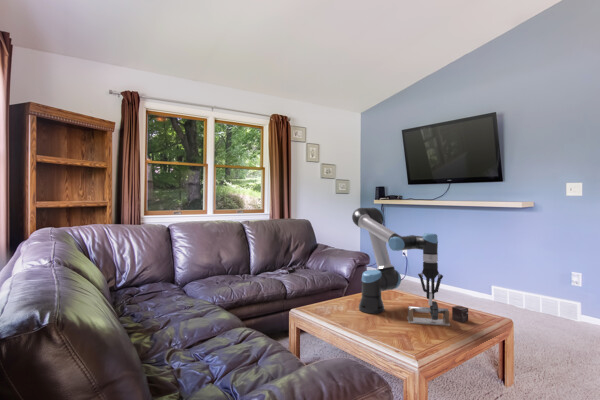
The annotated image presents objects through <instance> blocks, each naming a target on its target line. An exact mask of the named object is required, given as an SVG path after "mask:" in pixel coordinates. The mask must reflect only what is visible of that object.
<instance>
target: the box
mask: <svg viewBox="0 0 600 400" xmlns="http://www.w3.org/2000/svg"><path fill="white" fill-rule="evenodd" d="M451 309H452V310H451V319H452V320H453V321H455V322H458V323H460V324H463V323H464V324H465V323H467V322H469V307H465V306H462V305H455V306H452V307H451ZM452 320H451V321H452Z"/></svg>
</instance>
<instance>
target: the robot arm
mask: <svg viewBox="0 0 600 400" xmlns="http://www.w3.org/2000/svg"><path fill="white" fill-rule="evenodd" d="M351 215H352V216H351V218H352V222H353V224H355V226H356V227H358V228H360V229H364V230H366V231H368V235H369V238H370V241H371V242H370V243H371V246H372V251H373V254H374V258H375V263H376V266H377V268H376V269H368V270H366V271H363V272H362V275H361V298H360V301H359V304H358V310H359V311H360V312H361V313H366V314H373V315H374V314H377V315H378V314H383V313H384V312H385V305H384V301H383V299H382V292H385V291H392V290H395V289H397V288H399V287H400V285H401V283H402V282H401V281H402V277H401V273H400V272H399V271H398V270H396V269H395V266H394V265H393V264H391V260H390V256H389V253H388V247H389V248H390V250H392V251H394V252H395V251H397V252H400V251H406V250H409V251H410V250H422V271H421V272H419V273H418V274H417V275H418V277H419V280H420V283H421V287H422V288H421V289H422V290H423V292H424V293H426V299H427V300H428V302H427V304H428V307H430V306H432V301H433V300H435V293H438V292H439V289H440V286H441V281H442V279H443V277H444V275H443V274H441V273H440V272H439V267H438V265H439V263H438V262H439V259H438V258H439V257H438V256H439V251H438V250H439V249H438V248H439V247H438V245H439V244H438V243H439V239H438V235H437V233H430V232H428V233H427V232H425V233H423V234H422V236H421V235H414V234H412V235H411V234H408V235H404V236H402V235H399V234H398V233H397V232H395V231H393V230H391V229H390V228H388V227H386V226H385V225H384V222H385V219H386V217H385V214H384V211H383V210H382V209H380V208H378V207H358V208H357V209H355V210H354V211H353V213H352V214H351ZM387 244H388V247H387ZM423 277H425V279H426V282H425V281H424V278H423ZM436 278H437V280H436ZM435 280H436V281H435ZM435 282H436V284H435ZM425 283H426V285H425ZM430 283H431V284H430ZM430 285H431V286H430ZM430 289H431V291H430Z"/></svg>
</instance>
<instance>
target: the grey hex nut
mask: <svg viewBox="0 0 600 400" xmlns="http://www.w3.org/2000/svg"><path fill="white" fill-rule="evenodd" d="M429 308H433V313H429V314H430V319H432V320H438V319H439V313H438V308H439V305H438V302H437V301H435V300H432V306H429Z"/></svg>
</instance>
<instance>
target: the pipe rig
mask: <svg viewBox="0 0 600 400" xmlns="http://www.w3.org/2000/svg"><path fill="white" fill-rule="evenodd" d="M414 313H427V314H430V313H433V308H430V306H428V307H426V306H425V307H424V306H411V305H409V306H408V307H407V317H406V319H407V320H408V321H407V322H408V323H409V324H420V325H422V324H423V325H432V326H433V325H434V326H435V325H436V326H447V327H448V326H451V323H450V310H449V308H442V307H441V308H440V307H438V315H439V314H441V315H442V318H441V319H440V318H438V320H432V318H430V317H429V318H427V317H414Z"/></svg>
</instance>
